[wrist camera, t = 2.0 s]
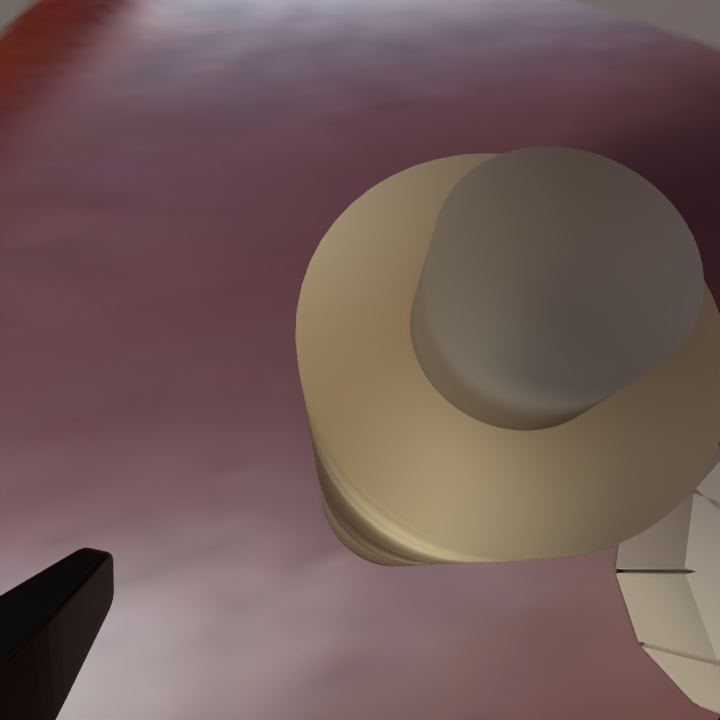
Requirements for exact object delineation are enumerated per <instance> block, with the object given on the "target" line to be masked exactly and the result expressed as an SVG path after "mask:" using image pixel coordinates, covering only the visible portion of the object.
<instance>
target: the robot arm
mask: <svg viewBox="0 0 720 720" xmlns="http://www.w3.org/2000/svg"><path fill="white" fill-rule="evenodd" d="M113 595H114V575H113V557H112V555H111V554H110V553H108V552H105V551H101V550H96V549H92V548H82V549H79V550H77V551H75V552H74V553H72V554H70V555H69V556H67V557H65V558H64V559H62V560H60V561H59V562H57V563H55V564H53V565H52V566H50V567H48V568H47V569H45V570H43V571H42V572H40V573H38V574H37V575H35V576H33V577H31V578H30V579H28V580H26V581H25V582H23V583H21V584H20V585H18V586H16V587H15V588H13V589H11V590H9V591H8V592H6V593H4V594H3V595H1V596H0V720H56V718H57V716H58V714H59V712H60V710H61V708H62V706H63V704H64V702H65V700H66V698H67V696H68V694H69V692H70V690H71V688H72V686H73V684H74V682H75V680H76V677H77V675H78V673H79V671H80V669H81V667H82V665H83V663H84V661H85V659H86V657H87V655H88V653H89V651H90V649H91V647H92V644H93V642H94V640H95V638H96V636H97V634H98V632H99V630H100V628H101V626H102V624H103V622H104V620H105V618H106V616H107V614H108V611H109V609H110V606H111V604H112V600H113ZM718 720H720V717H719V719H718Z"/></svg>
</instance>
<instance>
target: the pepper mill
mask: <svg viewBox="0 0 720 720" xmlns="http://www.w3.org/2000/svg"><path fill="white" fill-rule="evenodd" d="M296 347H297V358H298V366H299V372H300V378H301V383H302V389H303V395H304V400H305V406H306V411H307V417H308V423H309V428H310V434H311V439H312V445H313V451H314V456H315V462H316V468H317V473H318V479H319V484H320V490H321V496H322V501H323V506H324V510H325V514H326V517H327V519H328V522H329V524H330V526H331V528H332V530H333V532H334V533H335V534H336V536H337V537H338V539H339V540H340V541H341V542H342V543H343V544H344V545H345V546H346V547H347V548H348V549H349V550H351V551H352V552H353V553H355V554H356V555H358V556H359V557H361V558H363V559H365V560H368V561H370V562H373V563H376V564H380V565H386V566H413V565H433V564H454V563H475V562H496V561H517V560H538V559H555V558H563V557H570V556H577V555H584V554H588V553H591V552H595V551H598V550H601V549H605V548H608V547H612V546H615V545H617V544H619V543H621V542H623V541H626V540H628V539H630V538H632V537H634V536H636V535H638V534H640V533H642V532H644V531H645V530H647V529H648V528H650V527H651V526H653V525H654V524H656V523H657V522H659V521H660V520H662V519H663V518H664V517H666V516H667V515H668V514H669V513H670V512H671V511H672V510H673V509H674V508H676V507H677V506H678V505H679V504H680V503H681V502H682V501H683V500H684V499H685V498H686V497H687V496H688V495H689V493H690V492H691V491H692V489H693V488H694V487H695V485H696V484H697V483H698V482H699V480H700V479H701V478H702V476H703V475H704V473H705V471H706V470H707V468H708V466H709V464H710V462H711V460H712V458H713V456H714V455H715V453H716V451H717V448H718V445H719V442H720V314H719V311H718V309H717V306H716V304H715V301H714V299H713V296H712V294H711V292H710V290H709V288H708V286H707V285H706V283H705V281H704V274H703V265H702V261H701V257H700V253H699V250H698V247H697V245H696V242H695V239H694V237H693V235H692V233H691V231H690V229H689V227H688V226H687V224H686V222H685V220H684V219H683V218H682V216H681V215H680V213H679V212H678V210H677V209H676V208H675V207H674V205H673V204H672V203H671V202H670V201H669V200H668V199H667V198H666V196H665V195H664V194H662V193H661V192H660V191H659V190H658V189H657V188H656V187H655V186H654V185H653V184H651V183H650V182H649V181H647V180H646V179H645V178H643V177H642V176H640V175H639V174H638V173H636V172H634V171H632V170H631V169H629V168H627V167H626V166H624V165H622V164H620V163H618V162H615V161H613V160H611V159H609V158H606V157H603V156H601V155H598V154H595V153H592V152H587V151H583V150H579V149H574V148H567V147H557V146H539V147H527V148H522V149H517V150H512V151H509V152H506V153H503V154H490V153H481V154H468V155H457V156H452V157H447V158H441V159H436V160H432V161H429V162H426V163H423V164H420V165H416V166H413V167H411V168H408V169H406V170H404V171H402V172H400V173H397V174H395V175H393V176H391V177H389V178H387V179H386V180H384V181H382V182H381V183H379V184H377V185H376V186H374V187H373V188H371V189H369V190H368V191H367V192H366V193H364V194H363V195H362V196H361V197H359V198H358V199H357V200H356V201H355V202H353V203H352V204H351V205H350V206H349V207H348V208H347V209H346V210H345V211H344V212H343V213H342V214H341V216H340V217H339V218H338V219H337V220H336V221H335V222H334V223H333V225H332V226H331V228H330V229H329V230H328V232H327V233H326V235H325V236H324V237H323V239H322V240H321V242H320V244H319V246H318V248H317V250H316V252H315V254H314V255H313V257H312V259H311V261H310V263H309V266H308V269H307V272H306V275H305V278H304V281H303V284H302V287H301V292H300V297H299V302H298V307H297V317H296Z"/></svg>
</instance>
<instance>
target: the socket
mask: <svg viewBox="0 0 720 720" xmlns="http://www.w3.org/2000/svg"><path fill="white" fill-rule="evenodd" d="M615 568H617V569H620V570H623V571H624V572H620V573H616V575H617V578H618V581H619V584H620V588H621V591H622V594H623V597H624V600H625V603H626V606H627V609H628V612H629V615H630V618H631V621H632V624H633V627H634V630H635V633H636V636H637V639H638V641H640V642H644V644H643V645H642V646H641V647H642V648H643V649H644V650H645V651H646V652H647V653H648V654H649V655H650V656H651V657H652V658H653V660H654V661H655V662H656V663H657V664H658V665H659V666H660V667H661V668H662V669H663V670H664V671H665V672H666V674H667V675H668V676H669V677H670V678H671V679H672V680H673V681H674V682H675V683H676V684H677V685H678V686H679V688H680V689H681V690H682V691H683V692H684V693H685V694H686V695H687V696H688V697H689V698H690V699H691V701H692V702H694V703H696V704H698V706H700V707H703V708H706V709H708V710H711V711H714V712H716V713H719V714H720V446H718V448H717V451H716V453H715V455H714V456H713V458H712V460H711V462H710V464H709V466H708V468H707V470H706V471H705V473H704V475H703V476H702V478H701V479H700V480H699V482H698V483H697V484H696V485H695V487H694V488H693V489H692V491H691V492H690V493H689V495H688V496H687V497H686V498H685V499H684V500H683V501H682V502H681V503H680V504H679V505H678V506H677V507H676V508H674V509H673V510H672V511H671V512H670V513H669V514H668V515H667V516H666V517H664V518H663V519H662V520H660V521H659V522H657V523H656V524H654V525H653V526H651V527H650V528H648V529H647V530H645V531H644V532H642V533H640V534H638V535H636V536H634V537H632V538H630V539H628V540H626V541H623V542H621V543H619V549H618V555H617V561H616V567H615Z"/></svg>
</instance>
